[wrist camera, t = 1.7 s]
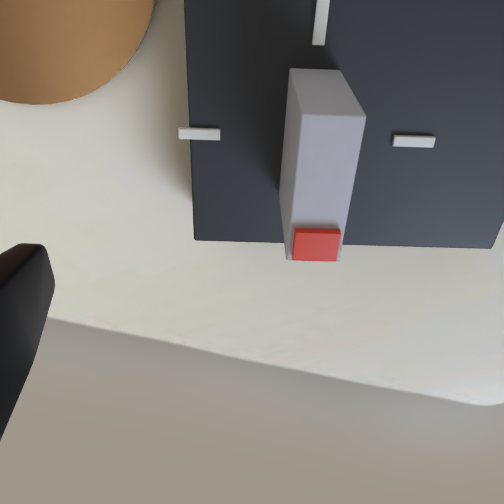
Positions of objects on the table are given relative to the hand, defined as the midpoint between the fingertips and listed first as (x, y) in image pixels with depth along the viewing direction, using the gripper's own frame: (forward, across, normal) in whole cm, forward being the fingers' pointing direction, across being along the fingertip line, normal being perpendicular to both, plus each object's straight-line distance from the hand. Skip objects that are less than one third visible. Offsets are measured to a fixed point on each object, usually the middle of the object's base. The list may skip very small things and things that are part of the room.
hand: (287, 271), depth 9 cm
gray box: (+8, -1, +1) cm, 8 cm away
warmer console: (+11, -3, +1) cm, 11 cm away
